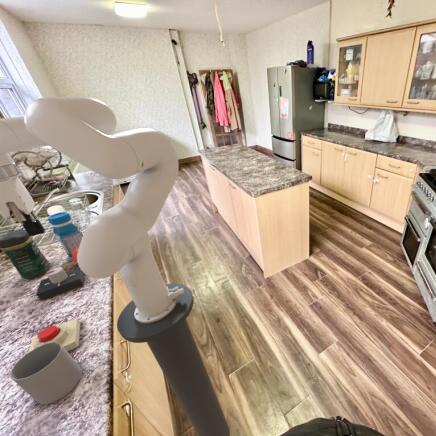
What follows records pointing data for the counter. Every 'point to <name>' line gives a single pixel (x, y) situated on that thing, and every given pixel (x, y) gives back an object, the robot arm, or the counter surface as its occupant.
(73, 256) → the tomato
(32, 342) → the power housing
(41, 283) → the fryer panel
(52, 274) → the timer knob
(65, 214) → the beverage bottle
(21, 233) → the coffee jar
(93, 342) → the counter surface
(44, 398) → the cup
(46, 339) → the power button
